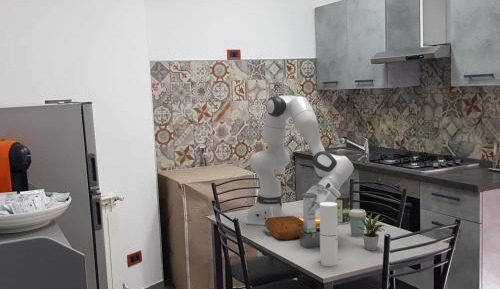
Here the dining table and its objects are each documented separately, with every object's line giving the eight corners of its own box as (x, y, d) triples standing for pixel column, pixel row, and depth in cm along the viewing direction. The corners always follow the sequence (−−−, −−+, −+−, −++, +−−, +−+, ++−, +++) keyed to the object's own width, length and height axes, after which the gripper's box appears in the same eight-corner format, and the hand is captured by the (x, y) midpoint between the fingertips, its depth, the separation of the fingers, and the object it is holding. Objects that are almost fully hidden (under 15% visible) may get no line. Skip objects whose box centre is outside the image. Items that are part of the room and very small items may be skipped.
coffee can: (348, 218, 275) (348, 193, 274) (351, 223, 265) (351, 197, 263) (329, 219, 276) (329, 193, 274) (332, 224, 265) (331, 198, 264)
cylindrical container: (316, 262, 209) (316, 203, 206) (329, 259, 213) (329, 201, 210) (328, 267, 203) (327, 206, 200) (341, 263, 207) (341, 204, 204)
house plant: (356, 254, 218) (356, 217, 216) (349, 244, 231) (349, 209, 230) (389, 253, 218) (389, 216, 216) (380, 243, 232) (380, 208, 230)
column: (306, 236, 224) (306, 195, 222) (301, 232, 229) (301, 193, 227) (317, 234, 226) (316, 194, 223) (312, 231, 230) (311, 192, 228)
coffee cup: (366, 237, 241) (366, 213, 239) (348, 237, 243) (348, 212, 241) (366, 232, 249) (366, 208, 248) (348, 232, 251) (348, 208, 249)
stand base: (303, 253, 220) (302, 236, 220) (292, 245, 232) (292, 228, 231) (327, 250, 224) (327, 232, 223) (316, 242, 235) (315, 226, 235)
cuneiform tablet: (263, 231, 255) (263, 216, 254) (295, 228, 260) (294, 213, 259) (277, 244, 234) (277, 227, 233) (312, 240, 239) (311, 224, 238)
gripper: (313, 179, 236) (294, 201, 235) (333, 187, 217) (312, 211, 215) (321, 187, 238) (303, 209, 237) (342, 196, 219) (322, 220, 217)
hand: (307, 210), depth 226 cm, fingers closed on column, 4 cm apart
